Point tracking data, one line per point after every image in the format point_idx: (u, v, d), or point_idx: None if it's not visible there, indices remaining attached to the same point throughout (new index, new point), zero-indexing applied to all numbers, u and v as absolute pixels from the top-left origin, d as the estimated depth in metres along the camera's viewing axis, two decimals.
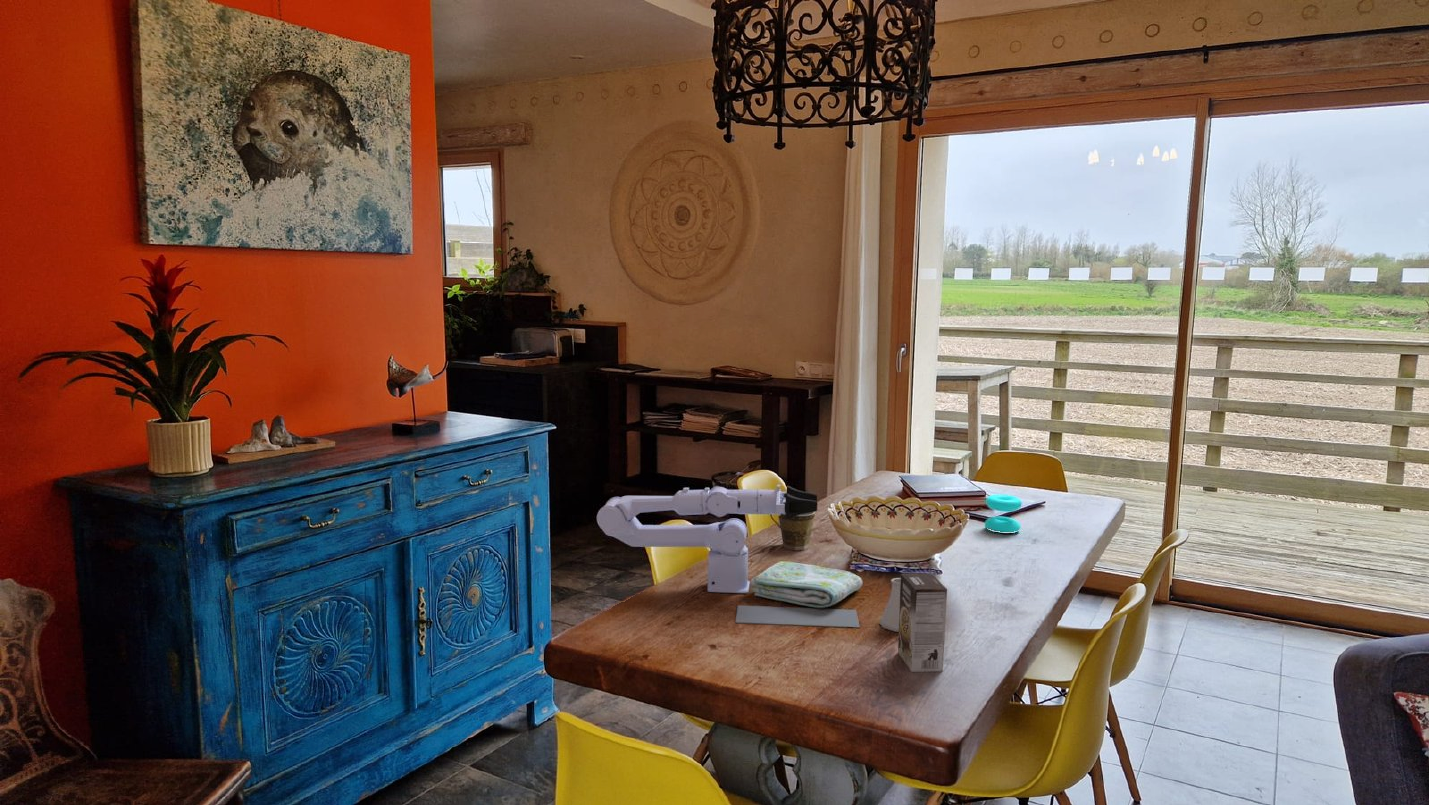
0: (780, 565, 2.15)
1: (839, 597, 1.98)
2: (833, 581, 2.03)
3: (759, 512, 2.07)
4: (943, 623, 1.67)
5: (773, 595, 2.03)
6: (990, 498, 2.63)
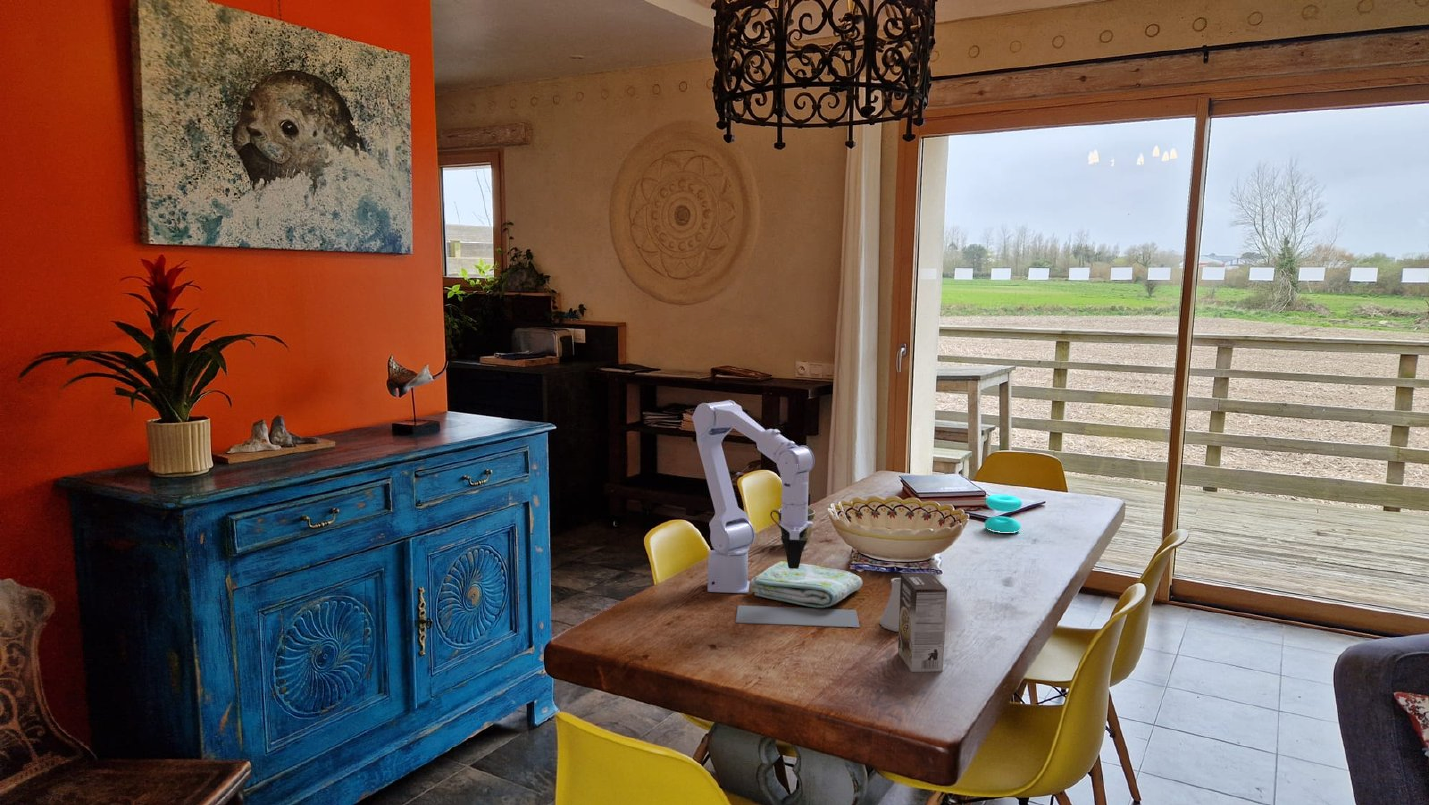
0: (781, 565, 2.15)
1: (839, 597, 1.98)
2: (833, 581, 2.03)
3: (785, 506, 1.95)
4: (943, 623, 1.67)
5: (773, 595, 2.03)
6: (990, 498, 2.63)
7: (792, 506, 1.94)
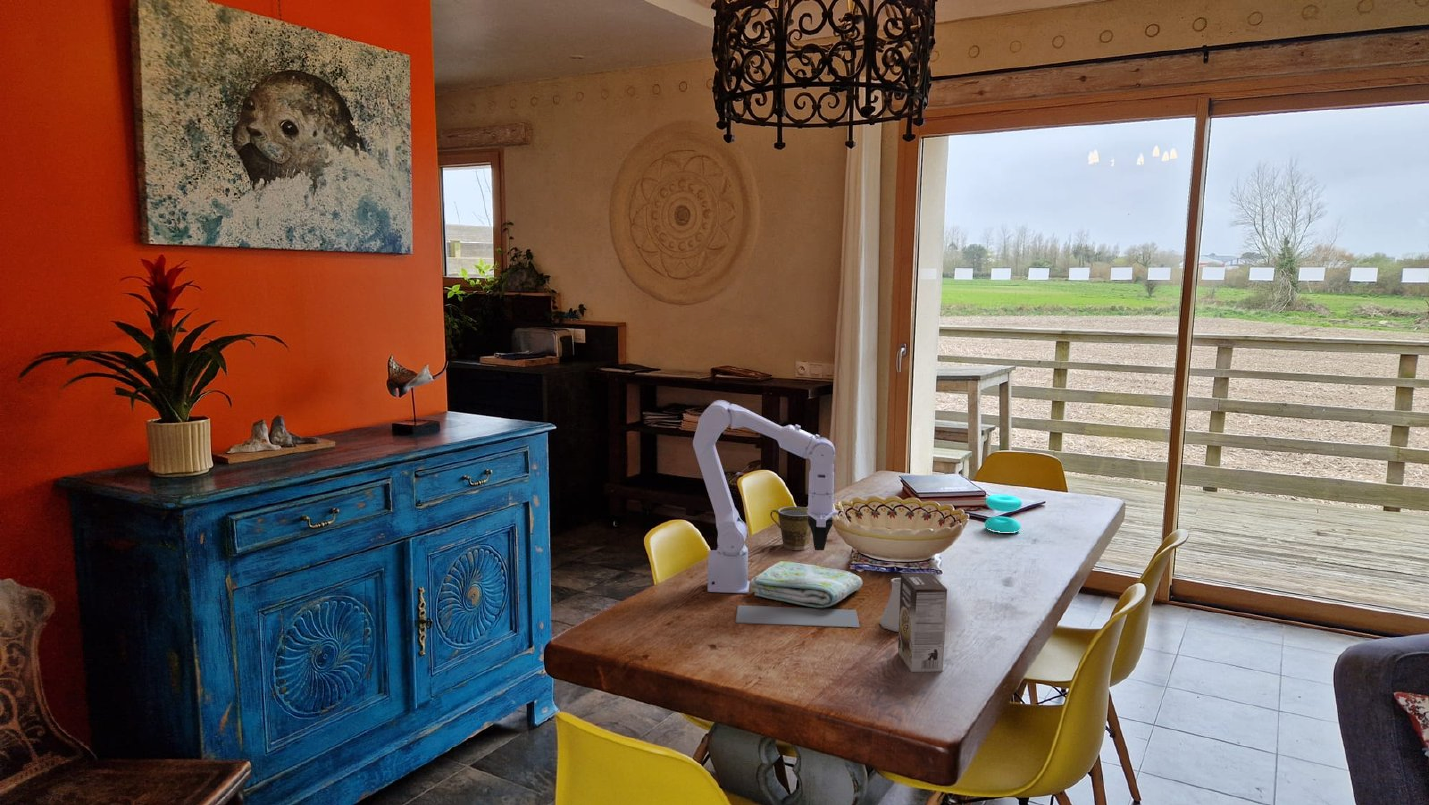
0: (781, 565, 2.15)
1: (839, 597, 1.98)
2: (833, 581, 2.03)
3: (812, 495, 2.05)
4: (943, 623, 1.67)
5: (773, 595, 2.03)
6: (990, 498, 2.63)
7: (819, 495, 2.04)
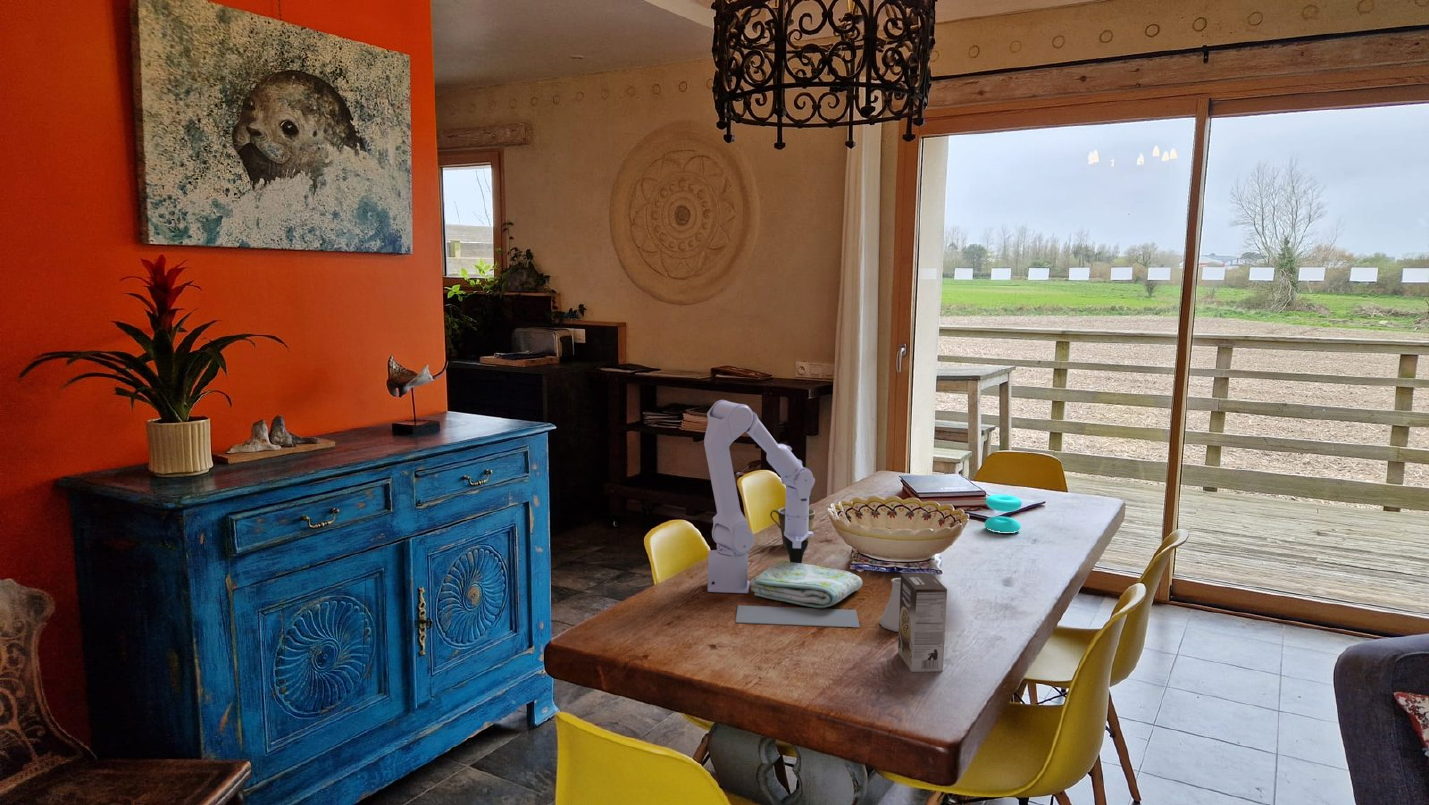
0: (780, 565, 2.15)
1: (839, 597, 1.98)
2: (833, 581, 2.03)
3: (788, 518, 2.18)
4: (943, 623, 1.67)
5: (773, 595, 2.03)
6: (990, 498, 2.63)
7: (795, 518, 2.17)
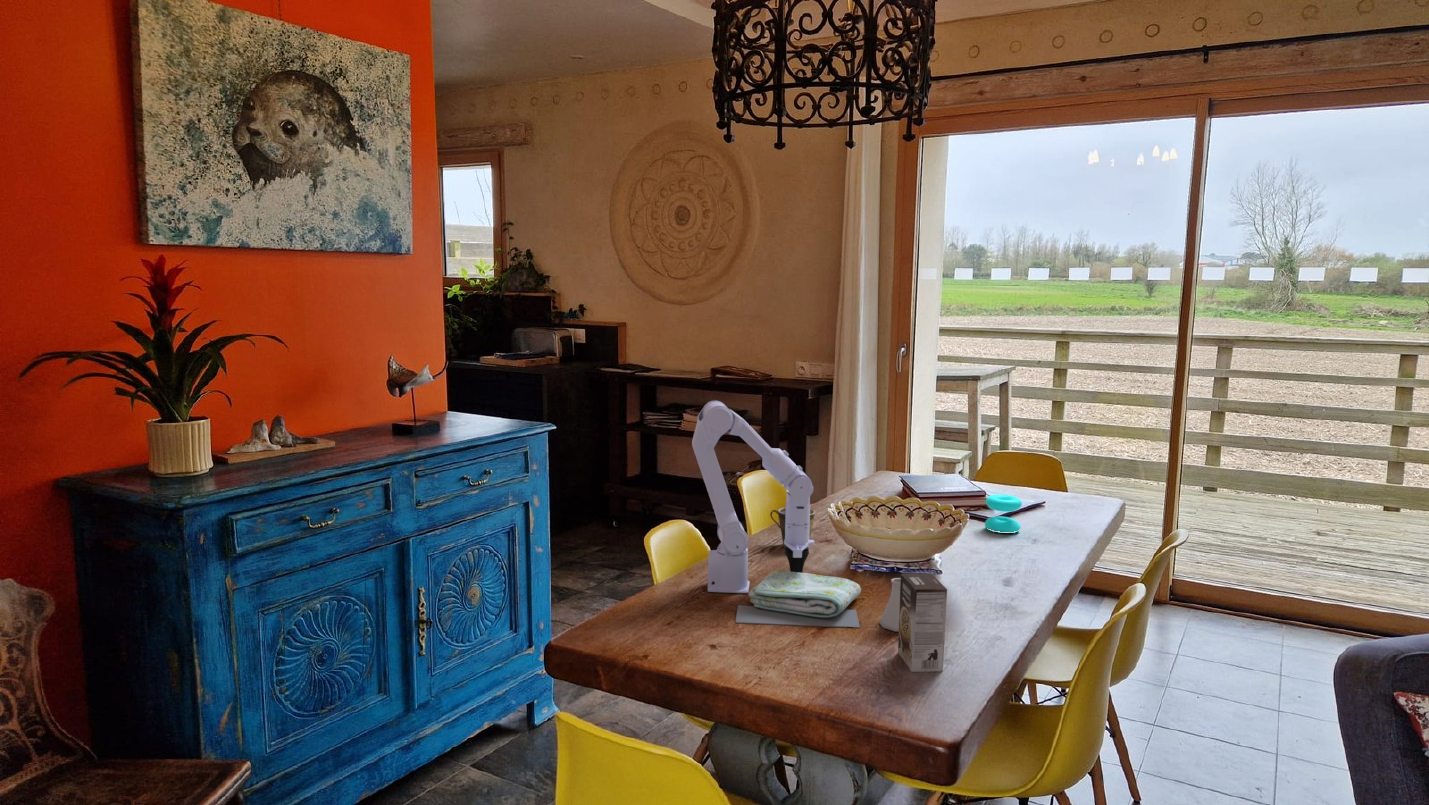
0: (776, 575, 2.08)
1: (844, 605, 1.93)
2: (835, 589, 1.97)
3: (788, 526, 2.10)
4: (943, 623, 1.67)
5: (774, 606, 1.96)
6: (990, 498, 2.63)
7: (795, 526, 2.09)
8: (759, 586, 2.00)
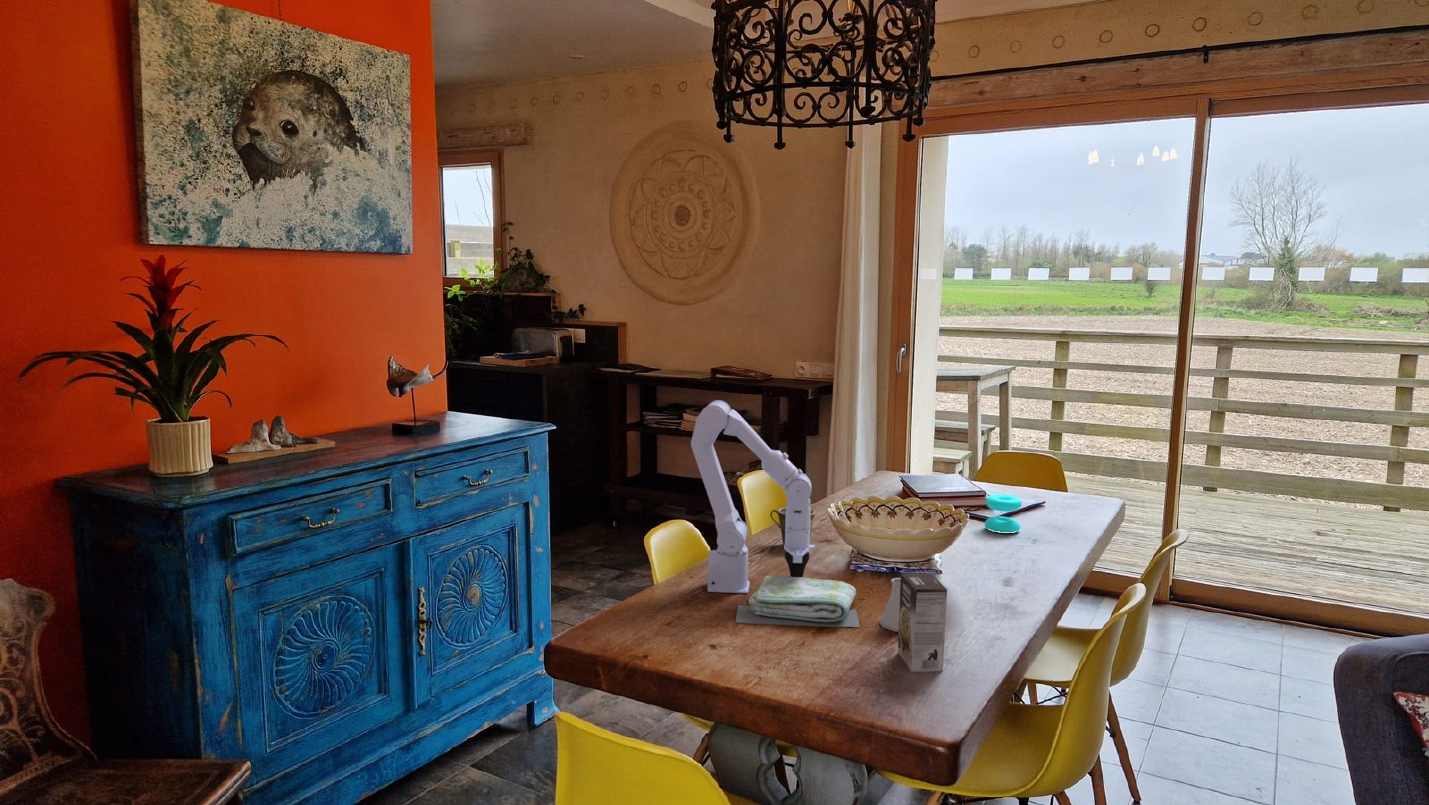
0: (770, 580, 2.04)
1: (848, 609, 1.91)
2: (836, 592, 1.95)
3: (788, 530, 2.06)
4: (943, 623, 1.67)
5: (777, 613, 1.92)
6: (990, 498, 2.63)
7: (795, 531, 2.05)
8: (759, 593, 1.95)
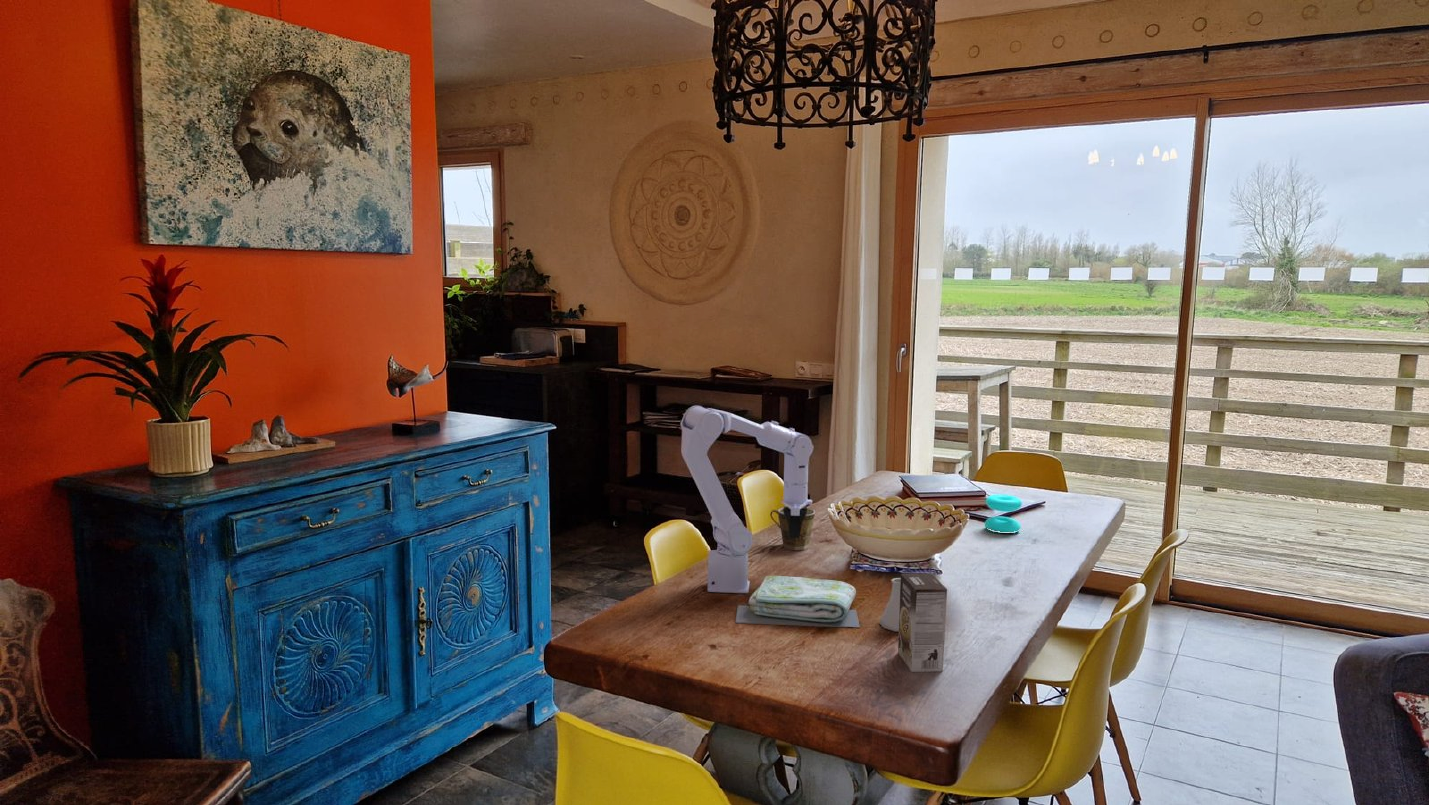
0: (770, 580, 2.04)
1: (848, 609, 1.91)
2: (836, 592, 1.95)
3: (787, 485, 2.14)
4: (943, 623, 1.67)
5: (777, 613, 1.92)
6: (990, 498, 2.63)
7: (793, 485, 2.13)
8: (759, 593, 1.95)
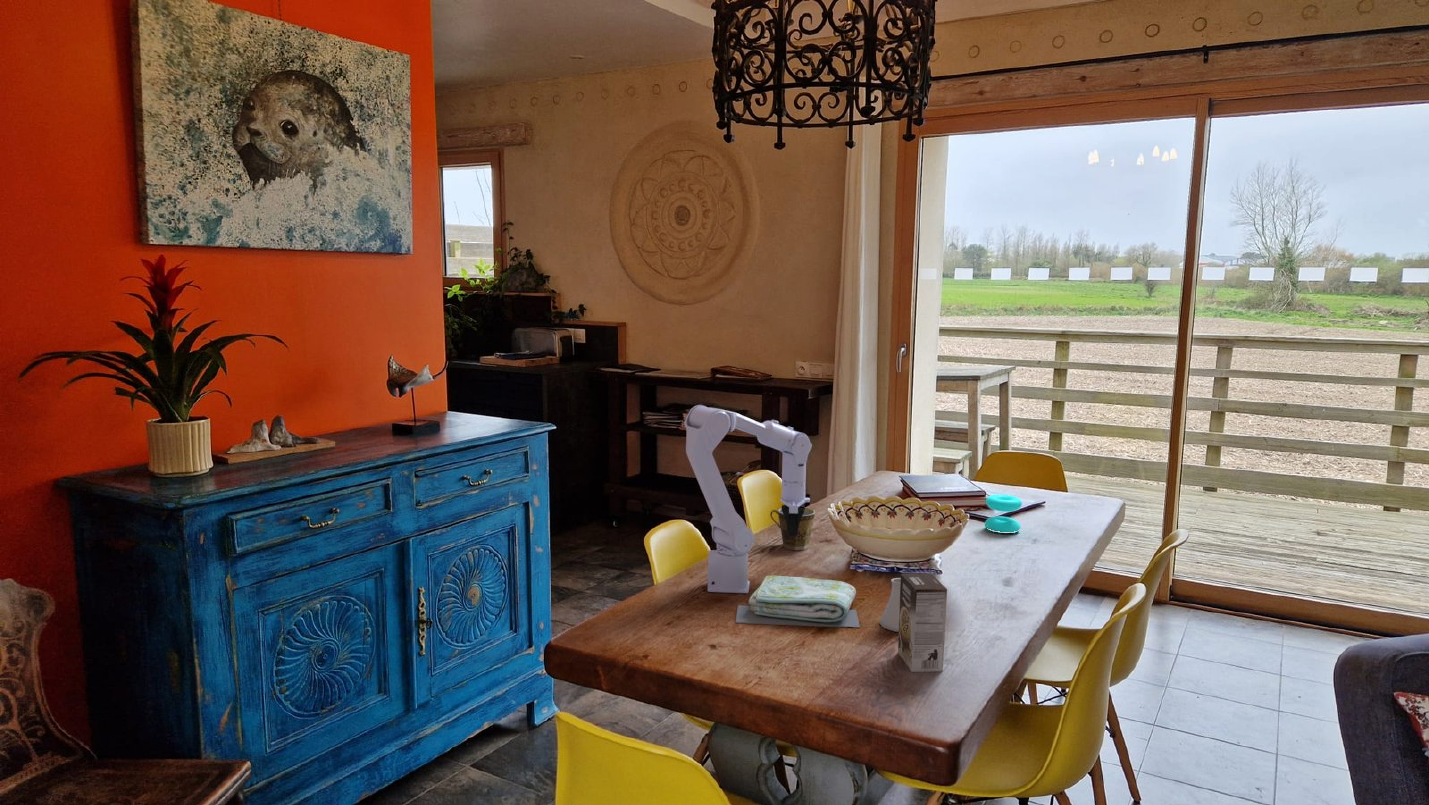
0: (770, 580, 2.04)
1: (848, 609, 1.91)
2: (836, 592, 1.95)
3: (785, 483, 2.16)
4: (943, 623, 1.67)
5: (777, 613, 1.92)
6: (990, 498, 2.63)
7: (791, 483, 2.15)
8: (759, 593, 1.95)
